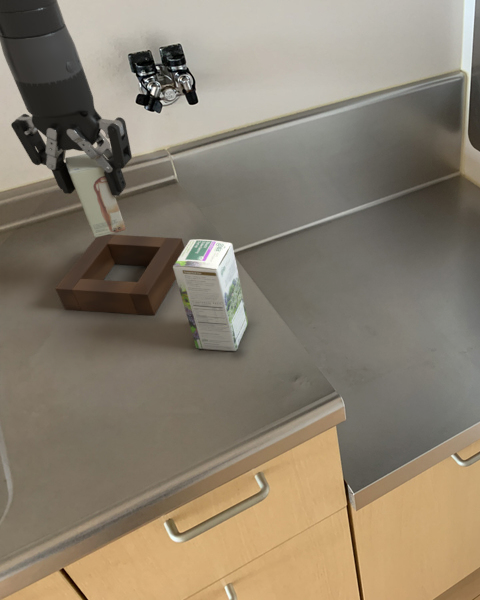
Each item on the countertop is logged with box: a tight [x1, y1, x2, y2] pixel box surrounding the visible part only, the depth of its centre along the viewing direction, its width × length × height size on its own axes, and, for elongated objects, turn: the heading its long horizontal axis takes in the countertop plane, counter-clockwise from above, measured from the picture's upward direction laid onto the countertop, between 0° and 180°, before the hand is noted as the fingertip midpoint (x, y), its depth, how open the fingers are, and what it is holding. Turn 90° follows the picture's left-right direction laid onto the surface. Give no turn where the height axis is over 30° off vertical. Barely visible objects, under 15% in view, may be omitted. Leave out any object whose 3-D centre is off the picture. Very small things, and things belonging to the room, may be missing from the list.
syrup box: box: [173, 238, 249, 352], centre depth 80 cm, size 6×6×14 cm
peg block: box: [54, 233, 185, 316], centre depth 92 cm, size 14×14×4 cm
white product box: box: [64, 153, 127, 239], centre depth 83 cm, size 5×4×10 cm
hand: (94, 191), depth 83 cm, fingers closed on white product box, 6 cm apart
